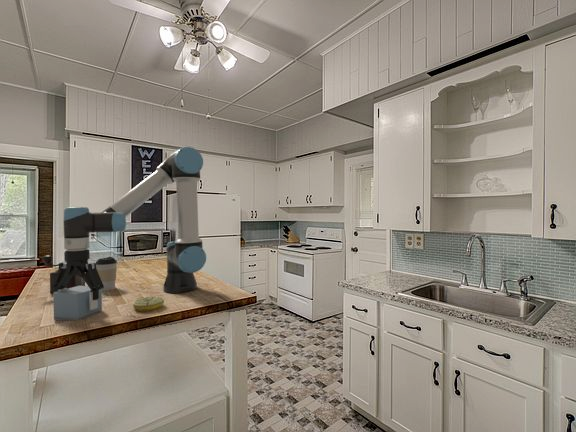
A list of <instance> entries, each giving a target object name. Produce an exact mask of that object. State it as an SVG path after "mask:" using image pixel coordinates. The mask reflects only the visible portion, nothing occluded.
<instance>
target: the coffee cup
mask: <svg viewBox="0 0 576 432" xmlns="http://www.w3.org/2000/svg"><path fill="white" fill-rule="evenodd" d="M95 263H96V269H97V271H98V274H99V276H100V278H101V281H102V283H103V285H104V288H102V292H103V291H105V292H106V291H111V290H114V289H116V279H117V269H118V267H117V263H118V260H117V259H115V258H114V257H113V256H107V257H103V258H98V259H97V261H95Z"/></svg>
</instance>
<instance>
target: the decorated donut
mask: <svg viewBox="0 0 576 432" xmlns="http://www.w3.org/2000/svg"><path fill="white" fill-rule="evenodd" d="M164 303H165V300H164V298H163V297H160V296H147V297H141V298H139V299H136V300H135V301H134V302H133V303H132V306H133V309H134V310H135V311H137V312H140V313H145V312H146V313H147V312H154V311H157V310H160V309H161V308H162V307H163V306H164Z"/></svg>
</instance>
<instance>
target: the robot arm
mask: <svg viewBox="0 0 576 432" xmlns="http://www.w3.org/2000/svg"><path fill="white" fill-rule="evenodd" d="M203 165H204V158H203V156H202V154H201V152H200V151H198V149H196V148H194V147H191V146H184V147H179V148H178V149H177V150H176V151H174V152H172V153H171V154H170V155H168V157H167V158H165V160H164V161H162V162H161V163H160V164H159V165H158V166H157V167H156V168H155V169H156V170H155V171H154V172H153V173H151V174H150V175H148V176H147V177H146V178H145V179H143V180H141V181H140V183H138V184H137V185H135V186H134V187H133V188H132V189H129V191H128V192H126V193H125V194H123V196H121V197H120V198H119V199H117V200H115V202H113V203H112V204H111V205H110V206H108V207H107V208H106V209H104V210H103V211H101V212H90V209H89V207H85V206H84V207H83V206H82V207H81V206H79V207H78V206H76V207H75V206H73V207H72V206H71V207H70V206H69V207H65V208H64V210H63V237H64V238H63V239H64V240H63V241H64V243H63V244H64V246H63V247H64V250H65V251H64V252H63V253H64V255H63V256H64V257H63V258H64V261H67V262H64V261H63V262H59V263H58V264H59V266H58V269H57V270H58V272H57V274H56V277H55V279H54V282H53V284H52V287H53V288H54V287H55V288H56V289H57V292H58V291H61V290H65V289H67V288H65V287H66V285H67V283H68V282H69V280H70V279H71V278H72V276H73V275H76V276H80V277H82V278H83V279H84V281H85V285H86V286H89V288H90V289H91V291H90V292H89V302H90V310H93V309H96V308H98V299H99V290H100V289H102V288H104V285H103V283H102V281H101V278H100V276H99V274H98V271H97V269H96V262H90V263H89V260H90V249H89V248H90V233H91V234H92V233H119V232H124V231H125V230H126V227H127V226H126V225H127V219H126V218H127V217H128V216H129V215H131V214H132V213H134V212H135V211H136V210H137V209H138V208H140V206H142V205H143V204H144V203H146V202H147V201H148V200H149V199H151V198H152V197H153V196H155V195H156V194H157V193H158V192H159V191H161V190H162V189H163V188H165V187H166V186H167V185H168V184H169V185H172V184H173V183H175V186H176V211H177V212H176V213H177V214H176V215H177V239H176V240H174V241H169V242H167V244H166V270H167V271H166V273H167V274H166V278H165V280H164V283H163V286H162V287H163V289H162V290H163V292H165V293H168V294H179V293H180V294H181V293H188V292H193V291H194V289H195V290H196V289H197V288H198V283H197V282H198V281H197V279H196V277H195V274H194V273H197V272H199V271H201V269H203V267H204V266H205V264H206V261H207V253H206V251H205V250H204V248H203V239H202V238H200V237H199V235H200V234H199V211H198V209H199V208H198V204H199V203H198V182H200V181H201V170H202V168H203V167H204V166H203ZM94 287H95V288H94ZM187 291H188V292H187Z"/></svg>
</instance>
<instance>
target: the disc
mask: <svg viewBox="0 0 576 432" xmlns="http://www.w3.org/2000/svg"><path fill="white" fill-rule="evenodd" d="M101 311H102V310H100V311H97V312H94V313H92V314H89V315H87V316H84V317H81V318H79V319H78V320H82V319H86V318H87V319H88V318H89V317H93V316H96V315H97V314H100V313H101ZM53 320H56V321H59V322H60V321H61V322H62V321H63V322H65V321H66V322H67V321H68V322H69V321H75V320H77V319H72V318H60V317H54V316H53Z"/></svg>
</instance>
